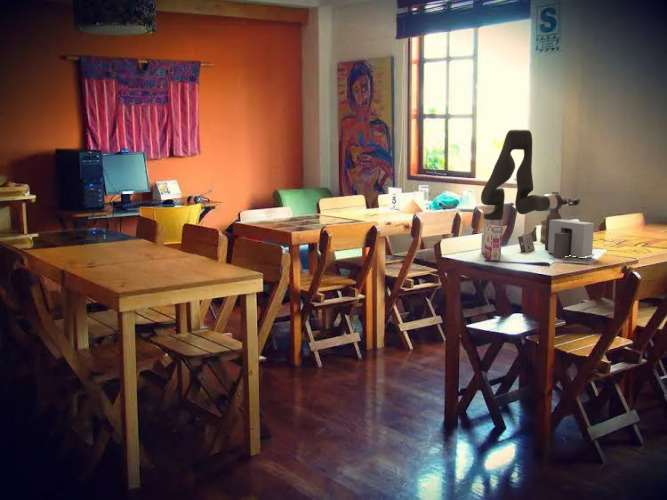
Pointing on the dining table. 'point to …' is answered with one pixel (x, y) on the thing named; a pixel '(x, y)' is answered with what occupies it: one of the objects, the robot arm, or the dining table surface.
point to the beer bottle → (551, 216)
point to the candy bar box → (492, 242)
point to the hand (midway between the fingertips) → (570, 200)
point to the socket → (573, 236)
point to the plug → (562, 244)
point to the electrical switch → (526, 242)
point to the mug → (543, 231)
